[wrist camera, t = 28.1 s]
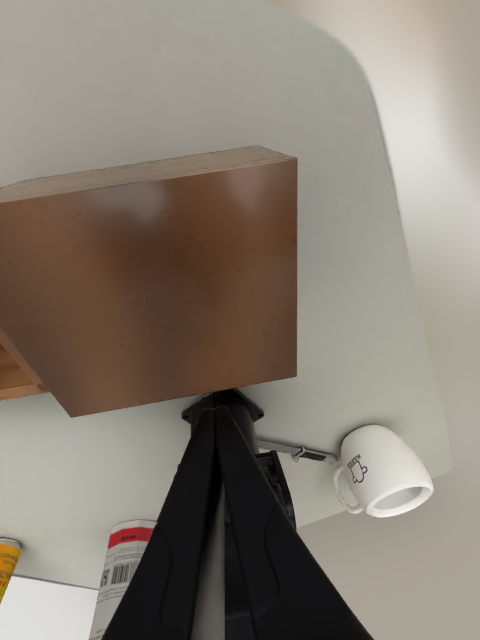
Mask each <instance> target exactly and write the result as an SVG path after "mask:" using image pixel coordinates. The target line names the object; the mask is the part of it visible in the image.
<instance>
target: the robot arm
mask: <svg viewBox="0 0 480 640" xmlns="http://www.w3.org/2000/svg"><path fill="white" fill-rule="evenodd" d="M262 417H264V411H263V410H262V409H261V408H259V407H258V406H257V405H256V404H255V403H253V402H252V401H251V400H250V399H248V398H247V397H246V396H245V395H243V394H242V393H241V392H240V391H238V390H237V389H236V388H232V389H229V390H228V389H226V390H221V391H215V392H214V393H212V394H211V395H209V396H207V397H206V398H204V399H203V400H201V401H199V402H198V403H196V404H195V405H193V406H191V407H190V408H188V409H187V410H185V411H183V412H182V419H183V420H185V421H187V422H188V423H190V424H191V438H190V440H189V443H188V445H187V448H186V450H185V452H184V455H183V457H182V460H181V462H180V464H178V468H177V472H176V474H175V476H174V480H173V482H172V485H171V487H170V490H169V492H168V495H167V497H166V499H165V502H164V504H163V507H162V509H161V512H160V514H159V517H158V519H157V524H156V525H155V526H154V529H153V531H152V534H151V536H150V539H149V541H148V543H147V546H146V548H145V550H144V553H143V555H142V557H141V560H140V562H139V564H138V566H137V568H136V570H135V572H134V575H133V577H132V579H131V581H130V583H129V585H128V587H127V589H126V591H125V593H124V595H123V597H122V599H121V601H120V603H119V605H118V607H117V609H116V611H115V613H114V615H113V617H112V619H111V621H110V623H109V624H108V626H107V628H106V630H105V632H104V634H103V636H102V638H101V640H374V639H373V638H372V636H371V635H370V634H369V633H368V632H367V630H366V629H365V628H364V626H363V625H362V624H361V623H360V622H359V620H358V619H357V617H356V616H355V615H354V613H353V612H352V611H351V609H350V608H349V607H348V606H347V604H346V602H345V601H344V600H343V598H342V597H341V595H340V594H339V593H338V591H337V590H336V588H335V587H334V585H333V584H332V583H331V581H330V580H329V578H328V577H327V576H326V574H325V573H324V571H323V570H322V568H321V567H320V566H319V564H318V563H317V561H316V560H315V558H314V557H313V556H312V554H311V553H310V551H309V550H308V548H307V547H306V545H305V544H304V542H303V541H302V539H301V538H300V536H299V535H298V533H297V532H296V520H295V514H294V508H293V503H292V499H291V495H290V491H289V488H288V485H287V482H286V479H285V476H284V473H283V470H282V467H281V464H280V461H279V458H278V455H277V452H276V450H272V451H270V452H266V453H260V454H259V450H258V445H257V440H256V435H255V430H254V424H253V422H255V421H257V420H259V419H260V418H262Z"/></svg>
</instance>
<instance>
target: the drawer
mask: <svg viewBox="0 0 480 640" xmlns="http://www.w3.org/2000/svg"><path fill="white" fill-rule="evenodd" d="M46 392H50V391H49V389H48V388H47V387H46V385H45V384H44V383H43V382H42V380H41V379H40V378H39V377H38V375H37V374H36V373H35V371H34V370H33V369H32V368H31V366H30V365H29V364H28V363H27V361H26V360H25V359H24V357H23V356H22V355H21V354H20V352H19V351H18V350H17V349H16V347H15V346H14V345H13V343H12V342H11V341H10V340H9V338H8V337H7V336H6V335H5V333H4V332H3V331H2V329H1V328H0V401H1V400H7V399H12V398H18V397H23V396H29V395H35V394H40V393H46Z"/></svg>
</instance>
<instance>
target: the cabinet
mask: <svg viewBox="0 0 480 640" xmlns="http://www.w3.org/2000/svg"><path fill="white" fill-rule="evenodd" d="M0 328H1V329H2V331H3V332H4V333H5V335H6V336H7V337H8V338H9V340H10V341H11V342H12V343H13V345H14V346H15V347H16V349H17V350H18V351H19V352H20V354H21V355H22V356H23V357H24V359H25V360H26V361H27V363H28V364H29V365H30V366H31V368H32V369H33V370H34V371H35V373H36V374H37V375H38V377H39V378H40V379H41V380H42V382H43V383H44V384H45V385H46V387H47V388H48V389H49V391H50V392H51V393H52V394H53V396H54V397H55V398H56V399H57V401H58V402H59V403H60V405H61V406H62V407H63V408H64V410H65V411H66V412H67V413H68V415H69V416H70V417H71V418H72V417H78V416H83V415H89V414H94V413H100V412H105V411H111V410H116V409H122V408H127V407H133V406H138V405H144V404H149V403H155V402H160V401H166V400H171V399H177V398H182V397H188V396H193V395H199V394H204V393H210V392H215V391H221V390H226V389H232V388H237V387H242V386H248V385H253V384H259V383H264V382H270V381H275V380H281V379H286V378H292V377H296V376H297V158H296V157H292V156H288V155H285V154H282V153H279V152H276V151H273V150H270V149H267V148H264V147H261V146H251V147H244V148H238V149H231V150H224V151H218V152H211V153H204V154H198V155H191V156H184V157H178V158H171V159H164V160H158V161H151V162H144V163H137V164H131V165H124V166H117V167H111V168H104V169H97V170H91V171H84V172H77V173H71V174H64V175H57V176H51V177H44V178H37V179H31V180H24V181H21V182H18V183H15V184H11V185H8V186H5V187H2V188H0Z"/></svg>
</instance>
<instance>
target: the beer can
mask: <svg viewBox="0 0 480 640" xmlns="http://www.w3.org/2000/svg"><path fill="white" fill-rule="evenodd" d="M19 546H20V544H19V543H18V542H17V541H15V540H11V539H5V538H0V603H1V601H2V598H3V595H4V593H5V591H6V588H7V586H8V583H9V581H10V579H11V576H12V574H13V571H14V569H15V566H16V564H17V561H18V559H19V556H20V554H21V549H20V547H19Z"/></svg>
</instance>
